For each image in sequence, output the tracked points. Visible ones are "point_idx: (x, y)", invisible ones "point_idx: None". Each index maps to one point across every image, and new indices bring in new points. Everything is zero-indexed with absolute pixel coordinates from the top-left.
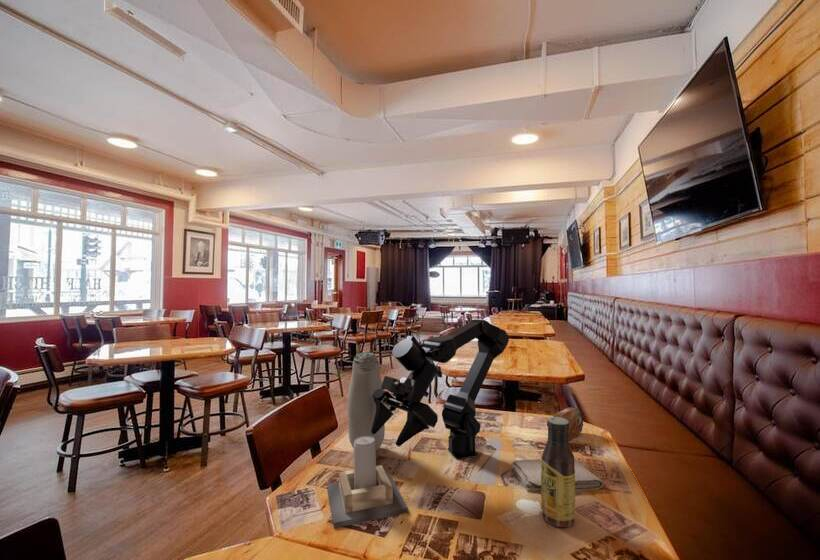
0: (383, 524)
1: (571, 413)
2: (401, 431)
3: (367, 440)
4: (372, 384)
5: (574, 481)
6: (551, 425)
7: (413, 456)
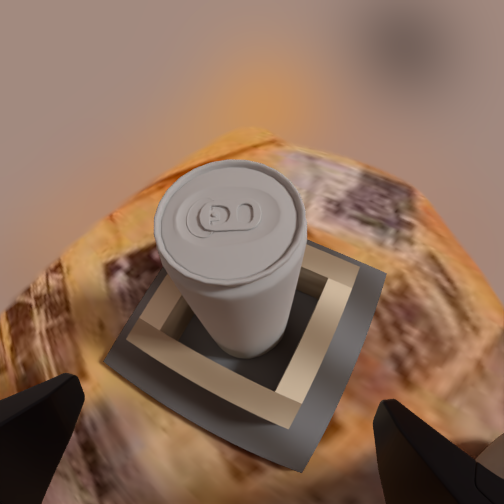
0: (129, 290)
1: None
2: (12, 413)
3: (208, 225)
4: None
5: None
6: None
7: None
